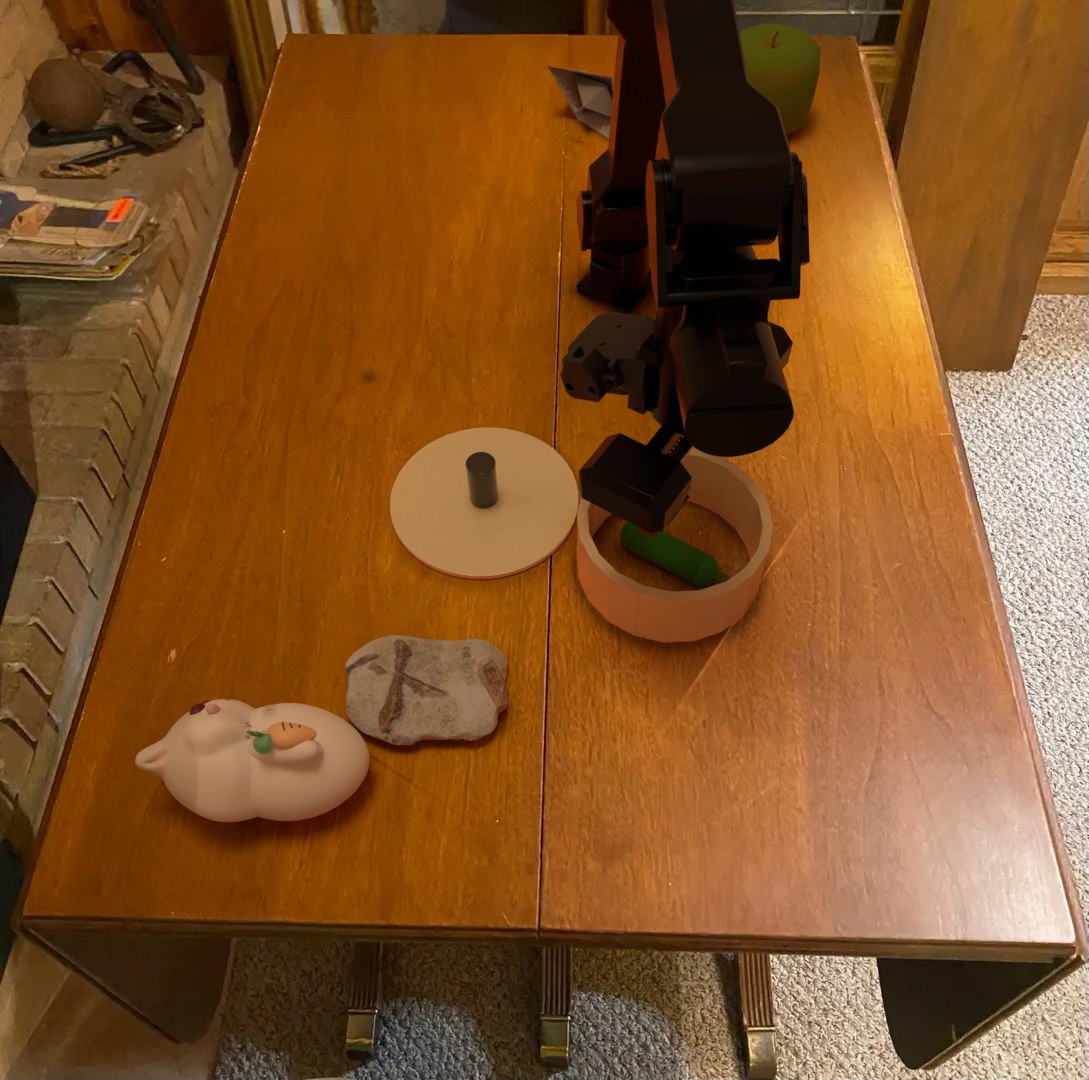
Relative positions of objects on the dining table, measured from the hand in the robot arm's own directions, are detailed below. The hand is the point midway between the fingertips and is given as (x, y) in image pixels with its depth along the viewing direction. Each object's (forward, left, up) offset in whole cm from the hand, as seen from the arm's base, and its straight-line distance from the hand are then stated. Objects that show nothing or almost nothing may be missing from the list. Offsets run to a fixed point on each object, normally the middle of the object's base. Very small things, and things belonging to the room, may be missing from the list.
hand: (678, 490), depth 74 cm
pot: (0, 0, -10) cm, 10 cm away
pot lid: (+3, -16, -9) cm, 19 cm away
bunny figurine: (+31, -14, -10) cm, 36 cm away
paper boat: (-49, -39, -10) cm, 63 cm away
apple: (-60, -22, -10) cm, 65 cm away
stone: (+20, -9, -10) cm, 24 cm away
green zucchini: (0, 0, -9) cm, 9 cm away
